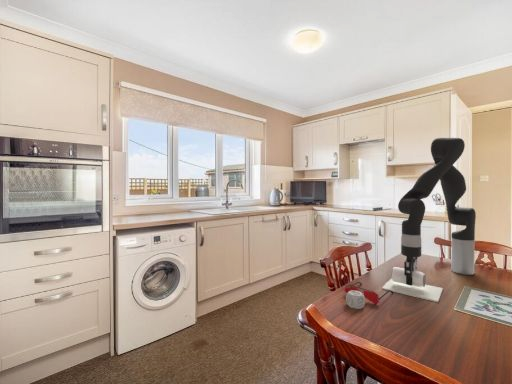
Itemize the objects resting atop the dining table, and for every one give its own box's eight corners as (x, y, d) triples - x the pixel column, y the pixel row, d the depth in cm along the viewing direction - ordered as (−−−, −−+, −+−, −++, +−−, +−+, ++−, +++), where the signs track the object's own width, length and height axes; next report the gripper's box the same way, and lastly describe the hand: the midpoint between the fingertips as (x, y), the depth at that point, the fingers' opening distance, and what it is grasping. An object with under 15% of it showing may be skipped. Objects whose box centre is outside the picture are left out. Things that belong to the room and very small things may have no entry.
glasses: (343, 296, 106) (343, 284, 106) (361, 285, 117) (361, 274, 117) (378, 307, 96) (378, 294, 96) (393, 294, 107) (393, 282, 107)
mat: (391, 278, 124) (391, 277, 123) (442, 289, 110) (442, 288, 110) (382, 289, 112) (382, 287, 112) (437, 302, 98) (437, 300, 98)
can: (393, 263, 116) (425, 269, 109) (395, 273, 119) (426, 279, 111) (390, 273, 112) (422, 280, 104) (392, 284, 115) (424, 291, 107)
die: (356, 302, 100) (356, 289, 99) (365, 307, 95) (365, 294, 95) (345, 304, 98) (345, 291, 98) (354, 310, 93) (354, 296, 93)
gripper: (418, 248, 103) (417, 290, 103) (424, 242, 114) (424, 279, 114) (397, 246, 108) (397, 285, 108) (405, 240, 119) (404, 276, 119)
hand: (411, 282), depth 111 cm, fingers closed on can, 6 cm apart
